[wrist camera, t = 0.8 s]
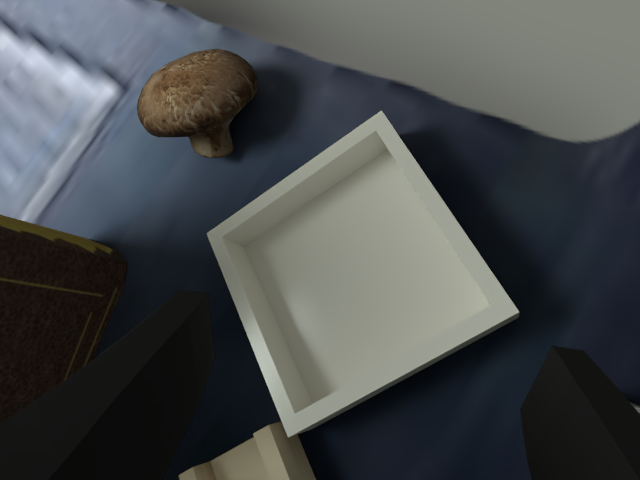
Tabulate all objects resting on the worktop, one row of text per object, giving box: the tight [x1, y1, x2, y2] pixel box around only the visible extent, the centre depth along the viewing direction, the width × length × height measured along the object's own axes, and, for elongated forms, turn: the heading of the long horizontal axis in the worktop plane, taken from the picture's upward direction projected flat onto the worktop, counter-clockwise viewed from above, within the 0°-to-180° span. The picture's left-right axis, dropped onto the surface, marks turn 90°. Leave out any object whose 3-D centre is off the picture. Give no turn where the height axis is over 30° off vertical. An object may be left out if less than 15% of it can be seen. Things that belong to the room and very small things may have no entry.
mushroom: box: [137, 49, 258, 158], centre depth 29 cm, size 8×8×6 cm
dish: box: [207, 111, 519, 438], centre depth 24 cm, size 12×12×3 cm
